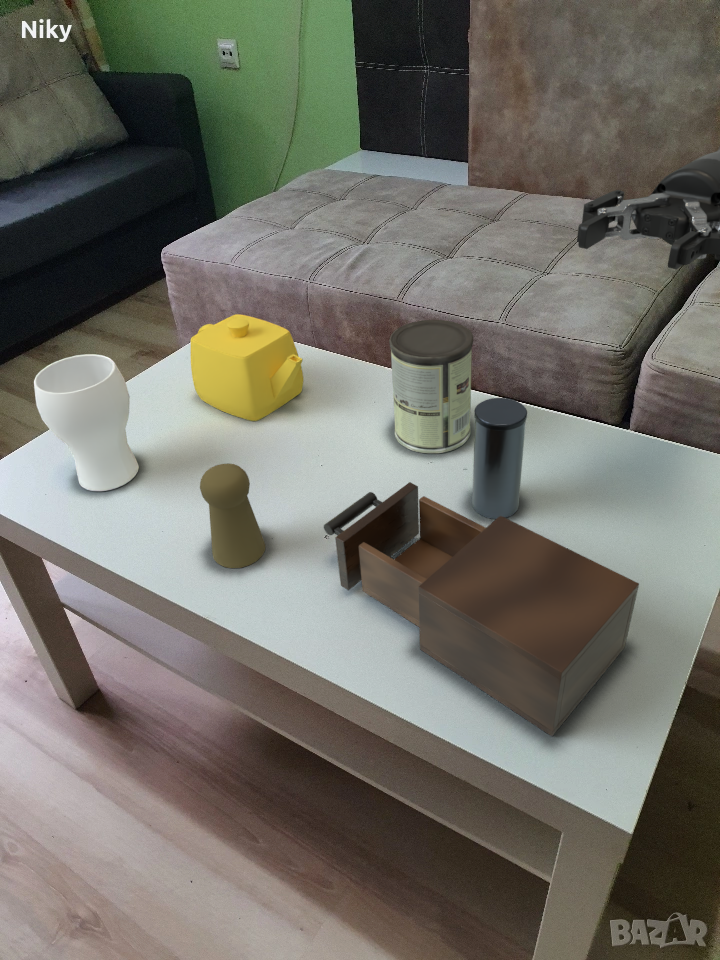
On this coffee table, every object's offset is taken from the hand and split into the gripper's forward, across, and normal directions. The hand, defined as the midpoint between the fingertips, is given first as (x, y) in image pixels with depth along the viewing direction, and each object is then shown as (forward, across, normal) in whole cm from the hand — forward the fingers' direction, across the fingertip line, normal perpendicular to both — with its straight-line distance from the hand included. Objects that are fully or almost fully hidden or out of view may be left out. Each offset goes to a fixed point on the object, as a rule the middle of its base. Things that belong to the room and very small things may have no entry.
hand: (626, 247), depth 66 cm
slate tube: (+3, -10, +32) cm, 33 cm away
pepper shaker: (+28, -27, +32) cm, 51 cm away
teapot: (+5, -52, +32) cm, 61 cm away
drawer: (+19, -9, +31) cm, 38 cm away
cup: (+30, -52, +32) cm, 68 cm away
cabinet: (+20, +5, +32) cm, 38 cm away
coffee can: (-4, -25, +32) cm, 41 cm away
